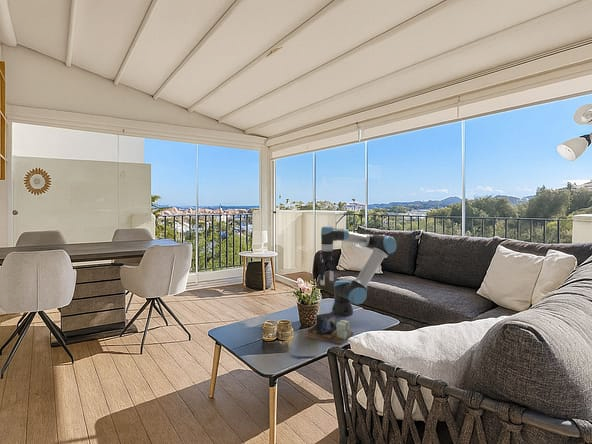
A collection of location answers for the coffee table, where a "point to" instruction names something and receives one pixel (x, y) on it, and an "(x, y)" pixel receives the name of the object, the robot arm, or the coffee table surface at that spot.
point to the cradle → (336, 337)
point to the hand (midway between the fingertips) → (327, 282)
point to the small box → (325, 323)
